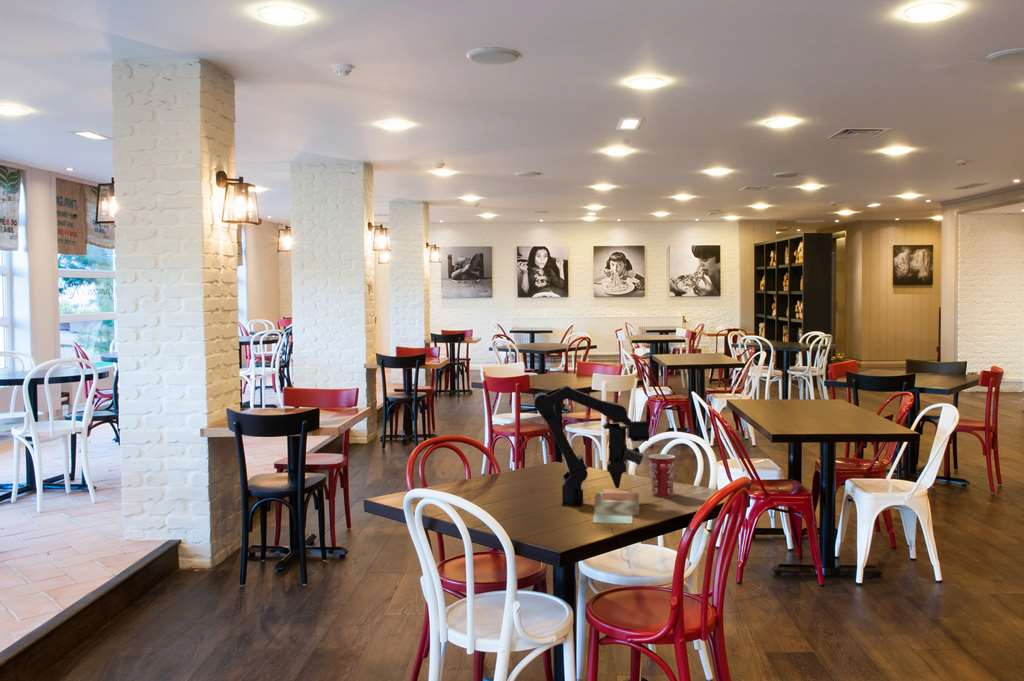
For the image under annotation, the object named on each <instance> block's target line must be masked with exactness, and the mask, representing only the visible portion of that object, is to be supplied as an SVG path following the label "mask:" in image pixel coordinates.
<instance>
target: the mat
mask: <svg viewBox="0 0 1024 681" xmlns="http://www.w3.org/2000/svg"><path fill="white" fill-rule="evenodd" d="M633 516H634V515H633V514H621V513H593V518H592V524H610V525H611V524H613V525H614V524H616V525H633Z"/></svg>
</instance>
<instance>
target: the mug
mask: <svg viewBox="0 0 1024 681" xmlns="http://www.w3.org/2000/svg"><path fill="white" fill-rule="evenodd" d="M648 458H649V473H650V474H649V475H650V485H651V486H650V487H651V488H650V492H651V495H652V496H654V497H658V498H659V497H660V498H668V497H672V496H673V494H674V478H675V477H674V476H675V461H676V460H675V459H676V456H675V455H672V454H667V453H666V454H665V453H655V454H649V455H648Z"/></svg>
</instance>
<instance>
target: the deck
mask: <svg viewBox="0 0 1024 681" xmlns="http://www.w3.org/2000/svg"><path fill="white" fill-rule="evenodd" d="M639 495H640V494H639V492H638V493H635V492H634V493H633V492H631V500H615V499H603V492H598V491H597V492H595V496H594V502H593V503H594V508H593V509H594V513H621V514H633V516H635V515H636V516H639V515H640V496H639ZM594 513H593V514H594Z"/></svg>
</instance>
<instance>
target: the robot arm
mask: <svg viewBox="0 0 1024 681" xmlns="http://www.w3.org/2000/svg"><path fill="white" fill-rule="evenodd" d="M566 400H569V401H572V402H574V403H576V404H579V405H582V406H584V407H586V408H589V409H591V410H594V411H596V412H599V413H600V414H602V415H603V416H604V417H606V418H608V419H609V420H611V421H612V422H610V421H609V420H606V422H605V423H604V424H603V425H602V428H603V429H604V430H608V463H607V464H606V465H607V466H606V467H607V468H606V472H609V475H610V477H611V480H612V482H613V484H614V488H615V489H620V485H621V482H622V481H621V479H622V476H623V473H627V471H628V469H627V468H628V466H627V465H628V464H627V463H628V461H629V462H631V463H632V462H633V463H635V464H636V465H639V466H640V465H641V464H642V460H643V458H644V454H643V453H642V452H640V451H641V450H640V447H635V446H634V447H633V449H632V448H628V444H627V439H630V441H631V442H649V440H650V431H649V426H648V421H647V420H639V421H638V420H636V421H632V419H631V418H629V416H628V411H627V409H626V407H624V405H622V404H620V403H617V402H615V401H614V402H613V401H610V400H609V401H608V400H602V399H599V398H596V397H594V396H592V395H589V394H586V393H584V392H582V391H578V390H577V389H574V388H572V387H570V386H569V385H563V386H560V387H558V388H555V389H552V390H550V391H547V392H538V393H537V394H535V395H534V397H533V401H532V402H533V405H534V407H535V410H537V412H538V413H539V414H540V415H541V417H542V419H544V420H545V422H546V424H547V426H548V427H549V430H550V432H551V434H552V435H553V437H554V440H555V441H556V444H557V445H558V447H559V449H560V452H561V453H562V455H563V457H564V461H565V462H564V463H565V465H566V468H567V471H566V472H565V473H564V474H563V475H562V477H561V479H562V481H563V483H562V484H561V486H562V488H561V490H562V491H561V494H562V496H561V497H562V502H561V506H571V507H572V506H578V507H580V506H582V504H583V503H584V501H585V500H584V489H583V486H582V485H583V482H584V481H586V479H587V477H588V475H589V474H588V470H589V467H588V465H586V463H585V461H584V460H585V459H584V458H583V456H582V455H581V454H579V455H578V456H577V455H576V453H575V452H574V450H573V448H572V445H571V444H570V442H569V440H568V438H567V436H566V434H565V432H564V430H563V429H562V427H561V424H560V423H559V420H558V419H557V416H556V415H557V414H556V411H555V408H554V406H555V405H558V404H559V403H561V402H563V401H566ZM620 423H621V424H622V425H620ZM623 424H624V425H623Z"/></svg>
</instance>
